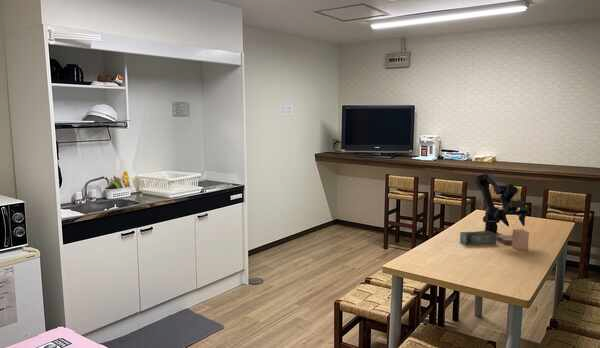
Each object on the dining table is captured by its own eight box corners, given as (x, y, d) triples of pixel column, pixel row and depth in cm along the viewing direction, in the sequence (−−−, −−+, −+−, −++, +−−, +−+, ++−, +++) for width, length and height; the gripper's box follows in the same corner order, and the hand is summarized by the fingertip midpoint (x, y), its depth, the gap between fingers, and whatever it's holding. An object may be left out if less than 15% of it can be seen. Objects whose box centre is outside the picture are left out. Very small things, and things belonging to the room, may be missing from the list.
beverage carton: (459, 241, 265) (459, 230, 264) (489, 240, 267) (490, 229, 266) (465, 245, 257) (466, 234, 256) (496, 244, 259) (497, 233, 258)
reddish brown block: (511, 246, 255) (512, 229, 253) (521, 246, 255) (523, 229, 254) (517, 249, 249) (518, 232, 247) (527, 249, 249) (529, 232, 248)
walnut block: (495, 240, 268) (496, 235, 268) (511, 239, 269) (512, 234, 268) (504, 245, 258) (504, 240, 258) (521, 244, 259) (521, 239, 259)
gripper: (497, 195, 257) (506, 219, 248) (528, 195, 259) (538, 218, 249) (490, 206, 266) (498, 229, 257) (520, 205, 267) (529, 228, 258)
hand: (516, 225), depth 255 cm, fingers open, 9 cm apart
